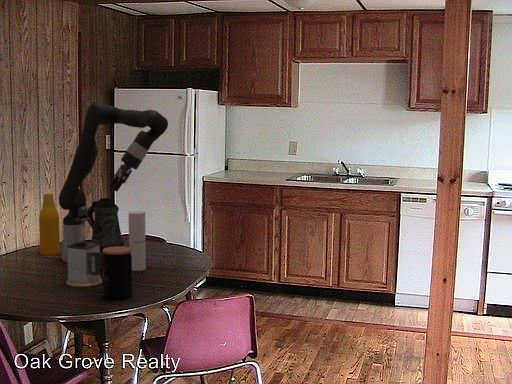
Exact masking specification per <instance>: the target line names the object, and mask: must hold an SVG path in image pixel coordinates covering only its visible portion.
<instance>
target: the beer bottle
mask: <svg viewBox="0 0 512 384" xmlns="http://www.w3.org/2000/svg"><path fill="white" fill-rule="evenodd" d="M42 200H43V201H42V202H43V203H42V208H41V210H40V212H39V216H38V223H39V226H38V227H39V231H38V232H39V254H40V255H41V256H44V255H45V257H52V256H57V255H60V253H61V240H60V239H61V237H60V214H59V212H58V210H57V207H56V206H55V197H54V193H50V192H48V193H47V192H46V193H43V199H42Z"/></svg>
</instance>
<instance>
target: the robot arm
mask: <svg viewBox="0 0 512 384" xmlns="http://www.w3.org/2000/svg"><path fill="white" fill-rule="evenodd" d="M114 124H119V125H121V124H122V125H125V126H128V127H131V128H138V129H143V128H146V127H149V128H150V129H148V130H147V131H144V130H140V131H139V132H138V133H137V135H136V136H135V138H134V139H133V141H132V142H131V144H130V145H129V146H128V148H127V149H126V150H125V152H124V153H123V156H122V157H121V158H120V161H121V162H122V163H123V164H120V166H119V167H118V169H117V170H116V172H115V174H113V179H112V181H111V182H110V184H109V187H110V188H111V189H112V190H113V191H115V192H116V193H117V192H119V190H120V188H121V187H122V185H124V184H125V183H126V182H127V181H128V179H129V177H130V175H131V173H133V170H137V169H138V168H139V167H140V165H141V164H142V162H143V160H144V159H145V157H146V156H147V153H148V152H149V149H151V147H152V146H153V144H154V142H155V141H157V140H158V139H159V138H160V137H161V136H162V135H163V134H164V133H166V131H167V129H168V127H169V126H168V125H169V120H168V119H167V118H166V117H165V116H164V115H162V114H161V113H160V112H159V111H157V110H154V109H147V110H146V109H145V110H137V109H136V110H135V109H123V108H122V109H121V108H118V107H115V106H113V105H111V104H107V103H100V102H93V103H91V104H90V105H88V108H87V110H86V113H85V117H84V123H83V128H82V131H81V135H80V138H79V140H78V141H79V142H78V145H77V147H76V150H75V153H74V157H73V159H72V162H71V164H70V165H71V166H70V168H69V171H68V175H67V177H66V179H65V182H64V184H63V186H62V188H61V190H60V193H59V195H58V196H59V197H58V205H59V207H60V208H61V209H62V210H65V211H68V213H67V214H66V215H65V216H64V217H63V219H62V230H63V231H62V232H63V234H62V235H63V237H62V238H63V239H62V240H61V259H62V261H63V262H65V263H68V255H67V246H69V245H73V244H76V243H80V242H82V221H77V220H76V218H78V217H79V211H78V208H79V207H87V196H86V194H85V192H84V190H83V189H82V188H80V186H81V184H82V183H83V181H84V180H85V178H86V177H87V176H88V175H89V174H90V172H92V169H93V168H94V166H95V163H96V161H97V157H98V145H97V141H96V134H97V130H98V128H99V125H100V126H106V125H114ZM132 169H133V170H132Z"/></svg>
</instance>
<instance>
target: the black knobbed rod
mask: <svg viewBox="0 0 512 384" xmlns="http://www.w3.org/2000/svg"><path fill="white" fill-rule="evenodd" d="M78 211H79V217H78V218H76V220H77V221H82V246H85V242H86V223H85V222H88V220H90V218H89V217H87V211H88V207H87V206H86V207H79V208H78Z"/></svg>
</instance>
